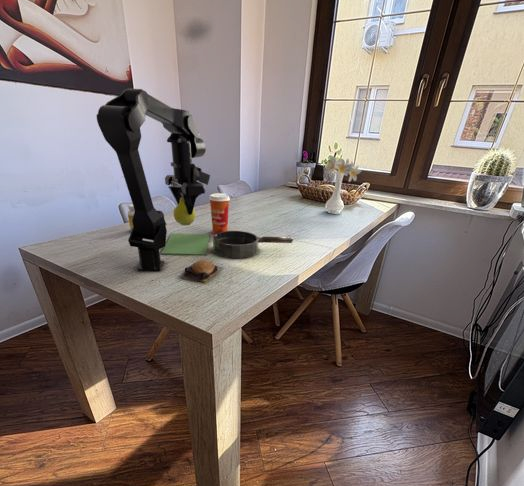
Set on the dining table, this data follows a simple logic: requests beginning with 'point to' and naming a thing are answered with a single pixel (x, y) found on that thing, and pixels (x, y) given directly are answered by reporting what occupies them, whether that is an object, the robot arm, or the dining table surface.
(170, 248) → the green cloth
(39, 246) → the dining table surface
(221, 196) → the paper cup
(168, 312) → the dining table surface
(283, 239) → the pan handle
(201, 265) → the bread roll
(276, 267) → the dining table surface
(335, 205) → the flower vase
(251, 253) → the pan
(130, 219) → the supplement bottle
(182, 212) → the fruit
